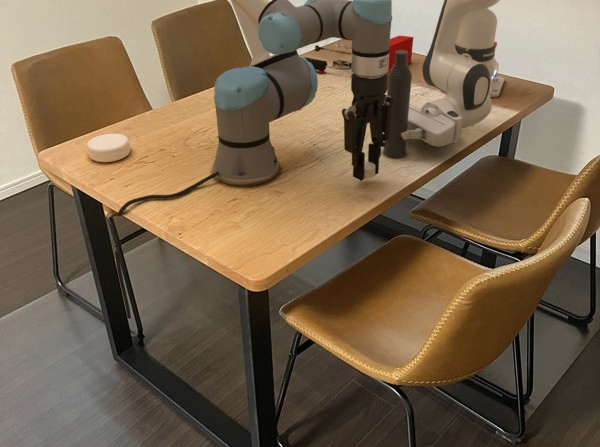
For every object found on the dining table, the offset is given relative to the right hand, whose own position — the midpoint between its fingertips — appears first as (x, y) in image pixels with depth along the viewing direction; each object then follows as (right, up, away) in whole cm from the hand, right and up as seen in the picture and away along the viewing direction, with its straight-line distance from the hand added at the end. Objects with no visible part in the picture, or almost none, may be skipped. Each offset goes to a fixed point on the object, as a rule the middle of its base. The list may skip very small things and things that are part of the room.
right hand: (393, 130), depth 149 cm
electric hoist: (-4, +31, +61) cm, 68 cm away
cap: (-8, -10, -12) cm, 17 cm away
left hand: (-8, -11, -10) cm, 17 cm away
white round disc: (-70, -5, +5) cm, 70 cm away
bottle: (+1, -5, +4) cm, 6 cm away
